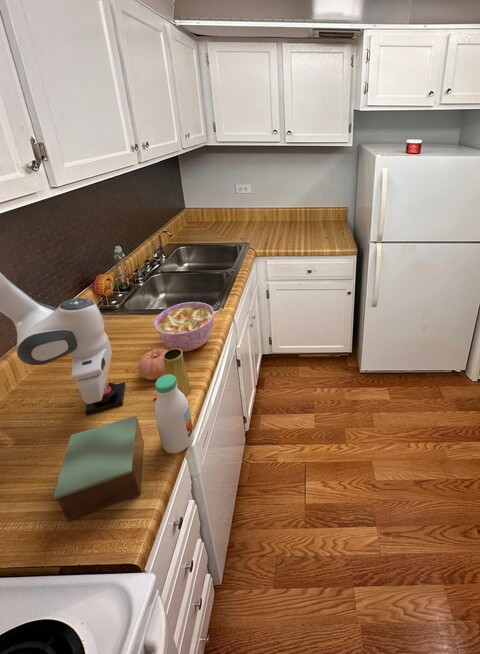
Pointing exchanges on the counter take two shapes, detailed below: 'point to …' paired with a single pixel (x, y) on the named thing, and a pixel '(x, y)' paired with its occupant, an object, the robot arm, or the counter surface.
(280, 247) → the counter surface
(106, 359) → the robot arm
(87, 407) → the black button base
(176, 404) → the milk bottle
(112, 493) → the box
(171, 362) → the vase
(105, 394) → the button
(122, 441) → the lid
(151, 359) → the orange pumpkin
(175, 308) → the bowl of food
